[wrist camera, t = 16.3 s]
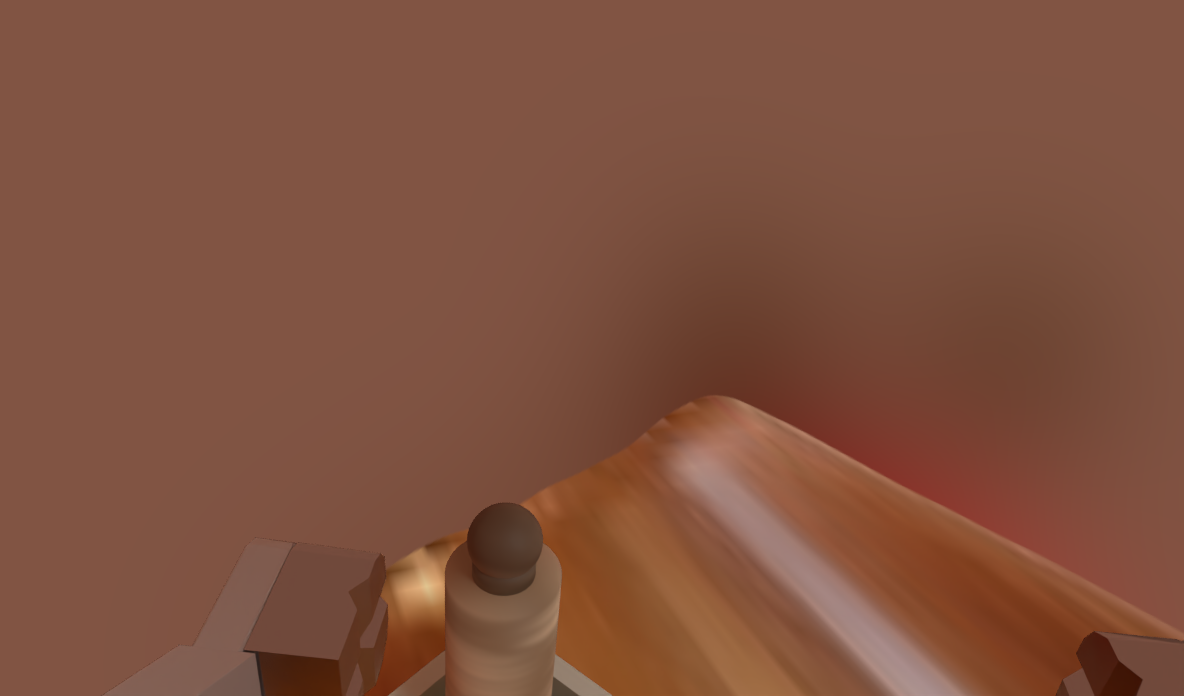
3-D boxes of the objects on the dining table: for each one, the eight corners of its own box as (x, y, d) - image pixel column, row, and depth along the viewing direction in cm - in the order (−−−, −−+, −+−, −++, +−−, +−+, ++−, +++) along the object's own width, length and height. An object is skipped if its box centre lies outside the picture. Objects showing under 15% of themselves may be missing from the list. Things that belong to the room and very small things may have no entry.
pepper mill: (493, 720, 46) (503, 457, 38) (564, 776, 44) (591, 511, 36) (425, 782, 43) (418, 513, 35) (496, 846, 41) (508, 575, 33)
